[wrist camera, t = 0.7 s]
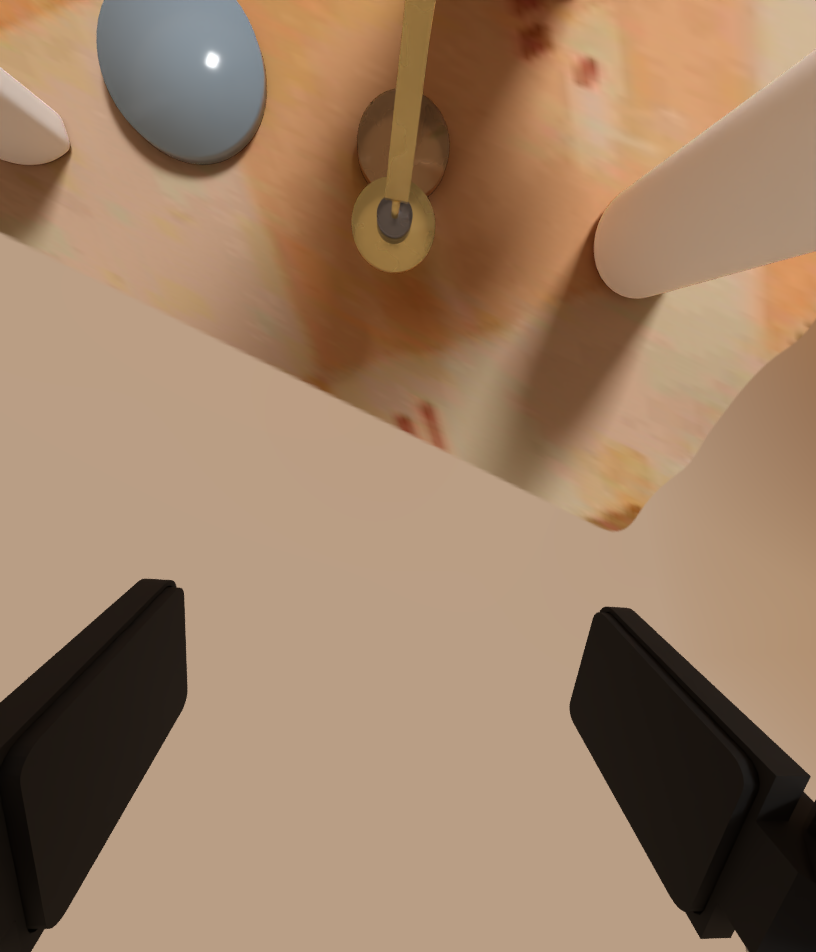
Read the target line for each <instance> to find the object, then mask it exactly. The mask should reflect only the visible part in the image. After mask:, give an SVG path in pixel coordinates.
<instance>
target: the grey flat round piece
mask: <svg viewBox="0 0 816 952" xmlns="http://www.w3.org/2000/svg"><path fill="white" fill-rule="evenodd" d="M97 52H98V59H99V64H100V69H101V72H102V75H103V78H104V81H105V84H106V86H107V89H108V91H109V93H110V95H111V97H112V99H113V101H114V102H115V104H116V106H117V107H118V109H119V110H120V112H121V113H122V114H123V116H124V117H125V118H126V119H127V121H128V122H129V123H130V124H131V125H132V126H133V127H134V128H135V129H136V130H137V131H138V132H139V133H140V134H141V135H142V136H143V137H144V138H145V139H146V140H147V141H148V142H149V143H150V144H151V145H153V146H154V147H155V148H157V149H158V150H160V151H161V152H163V153H165V154H166V155H168V156H170V157H172V158H175V159H177V160H180V161H183V162H187V163H192V164H212V163H218V162H221V161H224V160H227V159H229V158H231V157H232V156H234V155H236V154H237V153H238V152H240V151H241V150H242V149H243V148H244V147H245V146H246V145H247V144H248V143H249V142H250V141H251V139H252V138H253V137H254V135H255V133H256V132H257V130H258V128H259V126H260V123H261V120H262V118H263V115H264V110H265V106H266V98H267V78H266V70H265V65H264V61H263V56H262V53H261V50H260V48H259V45H258V42H257V39H256V36H255V34H254V31H253V29H252V26H251V24H250V22H249V20H248V18H247V16H246V14H245V13H244V11H243V9H242V8H241V6H240V5H239V3H238V2H237V1H236V0H104V2H103V4H102V6H101V10H100V14H99V18H98V25H97Z"/></svg>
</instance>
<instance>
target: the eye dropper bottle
mask: <svg viewBox="0 0 816 952" xmlns="http://www.w3.org/2000/svg"><path fill="white" fill-rule="evenodd" d="M69 148H70V141H69V138H68V135H67V132H66V129H65V126H64V123H63V121H62V119H61V117H60V115H59V114H58V113H57V112H56V111H54V110H53V109H52V108H51V107H49V106H48V105H47V104H46V103H44V102H43V101H42V100H41V99H39V98H38V97H37V96H36V95H34V94H33V93H32V92H31V91H30V90H28V89H27V88H26V87H25V86H23V85H22V84H21V83H20V82H18V81H17V80H16V79H15V78H13V77H12V76H11V75H10V74H8V73H7V72H6V71H5V70H3V69H2V68H1V67H0V159H1V160H4V161H7V162H11V163H16V164H22V165H39V164H44V163H48V162H51V161H53V160H55V159H57V158H59V157H61V156H62V155H64V154H65V153H66V152H67V151H68V150H69Z"/></svg>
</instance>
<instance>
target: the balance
mask: <svg viewBox="0 0 816 952" xmlns="http://www.w3.org/2000/svg"><path fill="white" fill-rule="evenodd" d="M435 2H436V0H405V8H404V18H403V27H402V37H401V46H400V56H399V65H398V75H397V84H396V89H393V90H389V91H386V92H384V93H382V94H381V95H379V96H378V97H377V98H375V99H374V100H373V101H372V102H371V103H370V105H369V106H368V107H367V109H366V110H365V112H364V114H363V116H362V118H361V121H360V124H359V128H358V135H357V148H358V159H359V164H360V168H361V171H362V174H363V176H364V178H365V180H366V182H367V183H368V185H367V186H366V187H365V188H364V189H363V190H362V192H361V193H360V194H359V196H358V198H357V200H356V202H355V204H354V208H353V211H352V220H351V225H352V233H353V238H354V241H355V244H356V247H357V249H358V251H359V252H360V254H361V256H362V257H363V258H364V259H365V260H366V261H367V262H368V263H369V264H370V265H371V266H373V267H374V268H376V269H378V270H380V271H382V272H386V273H393V274H394V273H403V272H406V271H409V270H411V269H413V268H414V267H416V266H417V265H418V264H419V263H421V262H422V260H423V259H424V258H425V257H426V255H427V253H428V252H429V250H430V247H431V245H432V242H433V239H434V234H435V217H434V212H433V208H432V206H431V203H430V201H429V199H428V198H427V197H428V196H429V195H430V194H431V193H432V192H433V191H434V190H435V189H436V187H437V186H438V184H439V183H440V181H441V179H442V176H443V174H444V171H445V168H446V165H447V161H448V156H449V135H448V130H447V126H446V124H445V121H444V119H443V117H442V115H441V113H440V111H439V110H438V108H437V107H436V106H435V105H434V103H433V102H432V101H431V100H429V99H428V98H427V97H426V96H424V95H423V86H424V78H425V71H426V63H427V55H428V48H429V40H430V34H431V28H432V21H433V15H434V8H435Z"/></svg>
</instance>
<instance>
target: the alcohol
mask: <svg viewBox="0 0 816 952" xmlns="http://www.w3.org/2000/svg"><path fill="white" fill-rule="evenodd" d="M814 251H816V49H815V50H813V51H812V52H811V53H809V54H808V55H807V56H805V57H804V58H803V59H801V60H800V61H799V62H797V63H796V64H794V65H793V66H792V67H790V68H789V69H788V70H786V71H785V72H784V73H782V74H781V75H780V76H778V77H777V78H775V79H774V80H773V81H771V82H770V83H769V84H767V85H766V86H765V87H763V88H762V89H761V90H759V91H758V92H756V93H755V94H754V95H752V96H751V97H750V98H748V99H747V100H746V101H744V102H743V103H742V104H740V105H739V106H737V107H736V108H735V109H733V110H732V111H731V112H729V113H728V114H727V115H725V116H724V117H723V118H721V119H720V120H718V121H717V122H716V123H714V124H713V125H712V126H710V127H709V128H708V129H706V130H705V131H704V132H702V133H701V134H699V135H698V136H697V137H695V138H694V139H693V140H691V141H690V142H689V143H687V144H686V145H685V146H683V147H682V148H680V149H679V150H678V151H676V152H675V153H674V154H672V155H671V156H670V157H668V158H667V159H666V160H664V161H663V162H661V163H660V164H659V165H657V166H656V167H655V168H653V169H652V170H651V171H649V172H648V173H647V174H645V175H644V176H642V177H641V178H640V179H638V180H637V181H636V182H634V183H633V184H632V185H630V186H629V187H628V188H626V189H625V190H623V191H622V192H621V193H619V194H618V195H617V196H616V197H615V198H614V199H613V200H612V201H611V202H610V204H609V205H608V207H607V208H606V209H605V211H604V213H603V215H602V217H601V219H600V221H599V223H598V226H597V230H596V233H595V240H594V258H595V263H596V267H597V269H598V272H599V274H600V276H601V278H602V279H603V281H604V282H605V284H606V285H607V286H608V287H609V288H610V289H612V290H613V291H614V292H616V293H618V294H619V295H621V296H624V297H628V298H638V299H640V298H646V297H651V296H654V295H658V294H662V293H665V292H669V291H673V290H676V289H680V288H683V287H687V286H691V285H694V284H698V283H702V282H705V281H709V280H712V279H716V278H720V277H723V276H727V275H731V274H734V273H738V272H742V271H745V270H749V269H752V268H756V267H760V266H763V265H767V264H771V263H774V262H778V261H782V260H785V259H789V258H792V257H796V256H800V255H803V254H807V253H811V252H814Z"/></svg>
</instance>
